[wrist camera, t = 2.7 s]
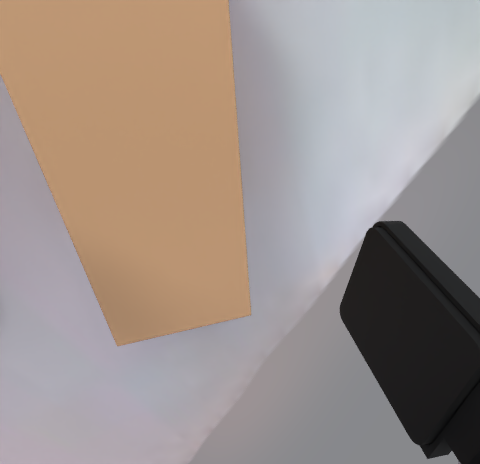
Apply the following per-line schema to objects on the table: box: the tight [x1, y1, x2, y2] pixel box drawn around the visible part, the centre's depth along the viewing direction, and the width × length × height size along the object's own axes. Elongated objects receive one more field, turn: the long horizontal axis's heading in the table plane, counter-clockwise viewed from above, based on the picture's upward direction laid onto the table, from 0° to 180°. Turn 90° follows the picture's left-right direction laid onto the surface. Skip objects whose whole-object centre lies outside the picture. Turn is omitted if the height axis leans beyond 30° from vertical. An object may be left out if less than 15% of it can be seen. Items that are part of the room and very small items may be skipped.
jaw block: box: [0, 0, 251, 346], centre depth 14 cm, size 12×5×7 cm, turn 4°
